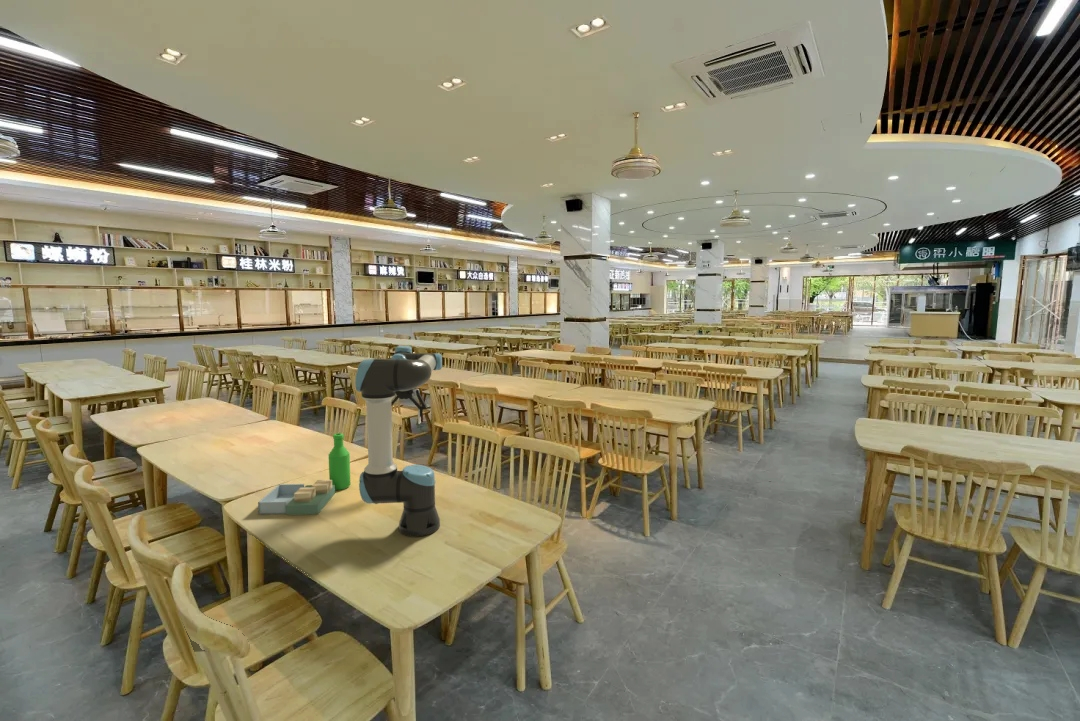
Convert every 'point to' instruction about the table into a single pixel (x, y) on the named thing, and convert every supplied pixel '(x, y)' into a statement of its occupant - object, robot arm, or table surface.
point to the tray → (278, 499)
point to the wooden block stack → (323, 486)
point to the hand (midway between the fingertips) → (404, 423)
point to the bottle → (339, 464)
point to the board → (310, 503)
